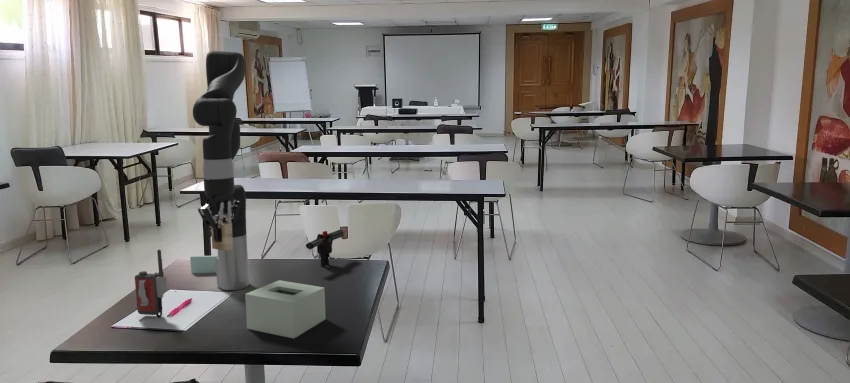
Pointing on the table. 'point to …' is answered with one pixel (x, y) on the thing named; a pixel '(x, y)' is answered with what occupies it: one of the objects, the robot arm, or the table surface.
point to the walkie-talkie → (150, 290)
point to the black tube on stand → (324, 245)
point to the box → (285, 308)
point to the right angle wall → (203, 264)
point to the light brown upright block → (224, 238)
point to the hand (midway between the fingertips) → (222, 240)
